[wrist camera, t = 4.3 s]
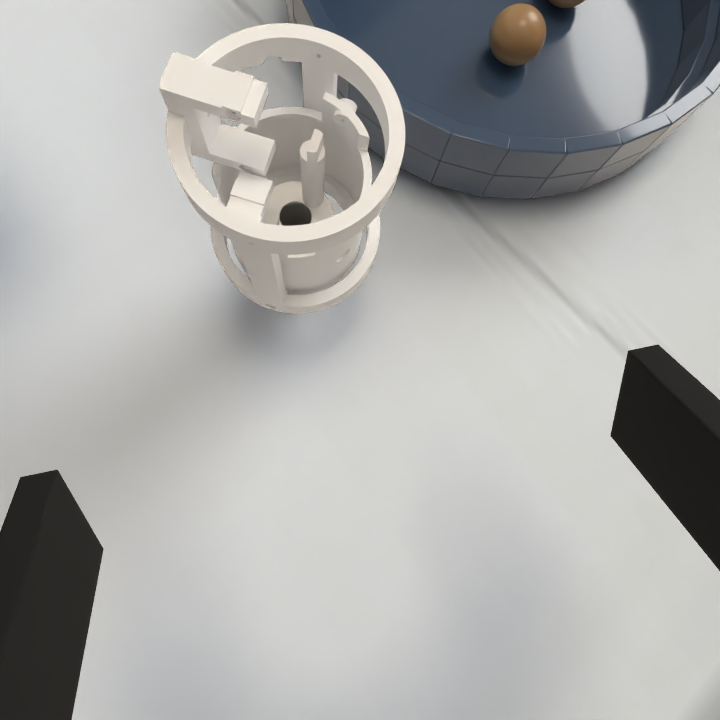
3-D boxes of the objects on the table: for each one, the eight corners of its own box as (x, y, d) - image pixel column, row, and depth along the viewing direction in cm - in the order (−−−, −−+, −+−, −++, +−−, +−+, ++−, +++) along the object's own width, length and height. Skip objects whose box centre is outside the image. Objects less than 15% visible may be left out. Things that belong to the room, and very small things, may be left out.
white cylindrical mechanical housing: (258, 195, 32) (206, -38, 17) (383, 234, 32) (440, 37, 17) (214, 316, 30) (116, 179, 16) (344, 356, 30) (370, 258, 16)
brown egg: (472, 55, 33) (487, 16, 30) (503, 21, 34) (521, -21, 31) (513, 87, 33) (532, 51, 30) (544, 52, 34) (566, 13, 31)
